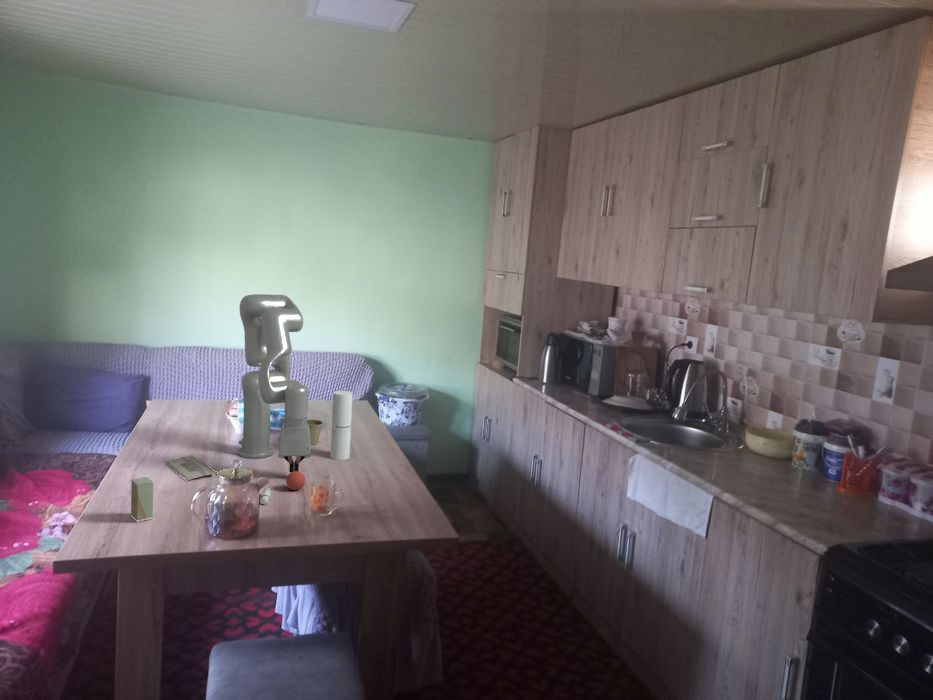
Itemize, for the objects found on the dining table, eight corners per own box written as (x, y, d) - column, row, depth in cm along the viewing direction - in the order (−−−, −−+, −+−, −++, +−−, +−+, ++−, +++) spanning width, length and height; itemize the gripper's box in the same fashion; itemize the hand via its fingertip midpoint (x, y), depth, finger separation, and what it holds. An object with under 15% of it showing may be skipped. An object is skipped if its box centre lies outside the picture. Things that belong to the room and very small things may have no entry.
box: (130, 517, 183) (130, 479, 182) (146, 513, 186) (146, 476, 185) (137, 523, 180) (137, 484, 178) (153, 519, 183) (153, 481, 181)
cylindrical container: (345, 461, 245) (348, 395, 242) (327, 458, 246) (330, 393, 243) (352, 455, 252) (355, 392, 249) (334, 453, 253) (337, 390, 250)
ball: (282, 480, 208) (281, 482, 214) (296, 492, 208) (295, 494, 214) (296, 466, 211) (294, 468, 216) (310, 478, 211) (308, 481, 217)
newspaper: (223, 477, 221) (223, 470, 221) (186, 487, 213) (185, 480, 213) (198, 458, 238) (198, 452, 237) (163, 467, 230) (162, 460, 229)
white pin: (261, 493, 206) (259, 503, 198) (264, 486, 206) (261, 496, 198) (269, 496, 207) (267, 506, 198) (272, 488, 206) (269, 498, 198)
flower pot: (299, 447, 258) (299, 425, 257) (297, 440, 267) (298, 419, 266) (323, 446, 261) (324, 425, 260) (320, 439, 270) (321, 419, 269)
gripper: (272, 424, 215) (270, 478, 217) (318, 424, 219) (316, 477, 221) (272, 418, 222) (271, 471, 224) (317, 419, 226) (315, 470, 228)
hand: (293, 474), depth 223 cm, fingers closed
